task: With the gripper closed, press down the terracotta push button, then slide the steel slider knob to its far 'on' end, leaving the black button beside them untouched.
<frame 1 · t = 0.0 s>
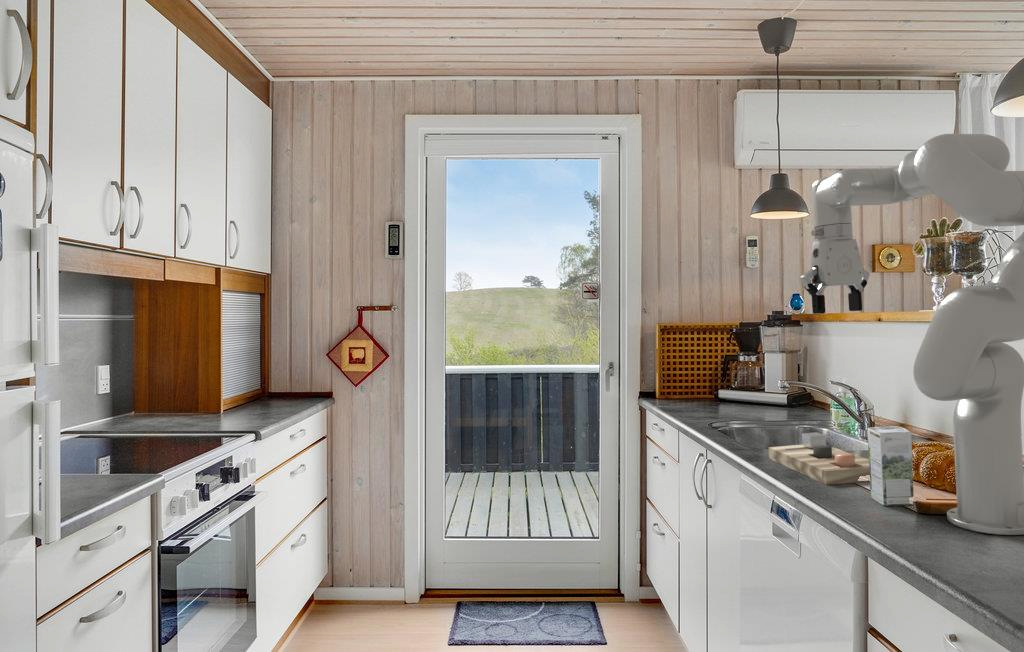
hand: (837, 312, 143), 37 cm above the countertop, tool pointing down, fingers open, 9 cm apart
terracotta button: (845, 461, 146), point 4 cm above the countertop, slide at 0.0 cm
light wooden board: (823, 468, 155), on the countertop
steel slider: (813, 440, 164), point 5 cm above the countertop, slide at -3.0 cm
syrup box: (892, 503, 127), on the countertop
black button: (822, 453, 155), point 4 cm above the countertop, slide at 0.0 cm
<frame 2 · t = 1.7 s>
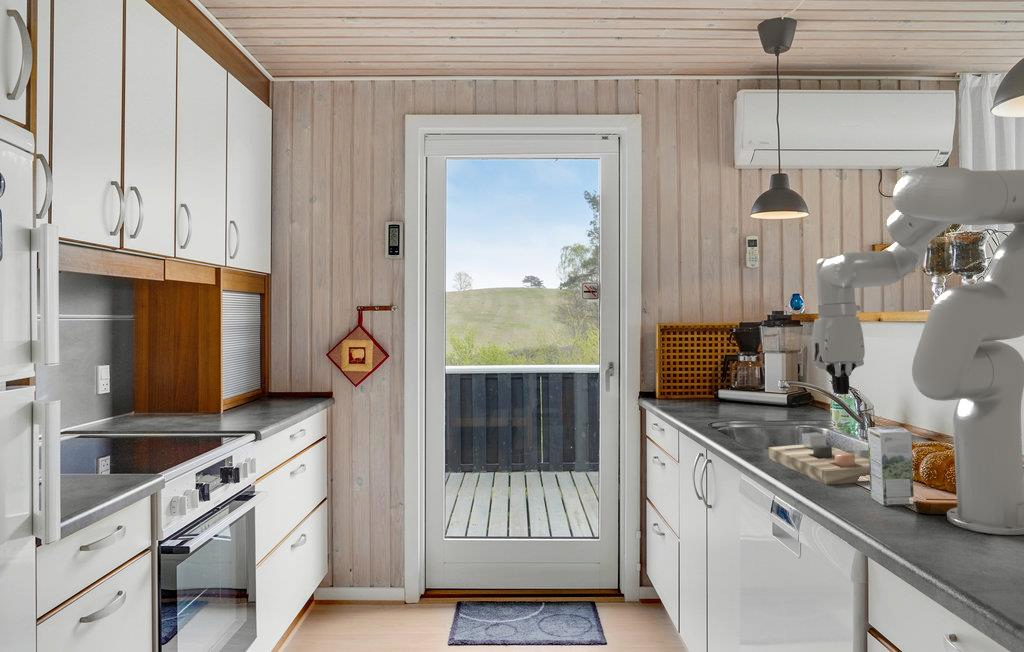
hand: (841, 393, 145), 19 cm above the countertop, tool pointing down, fingers closed
nothing on the countertop moved.
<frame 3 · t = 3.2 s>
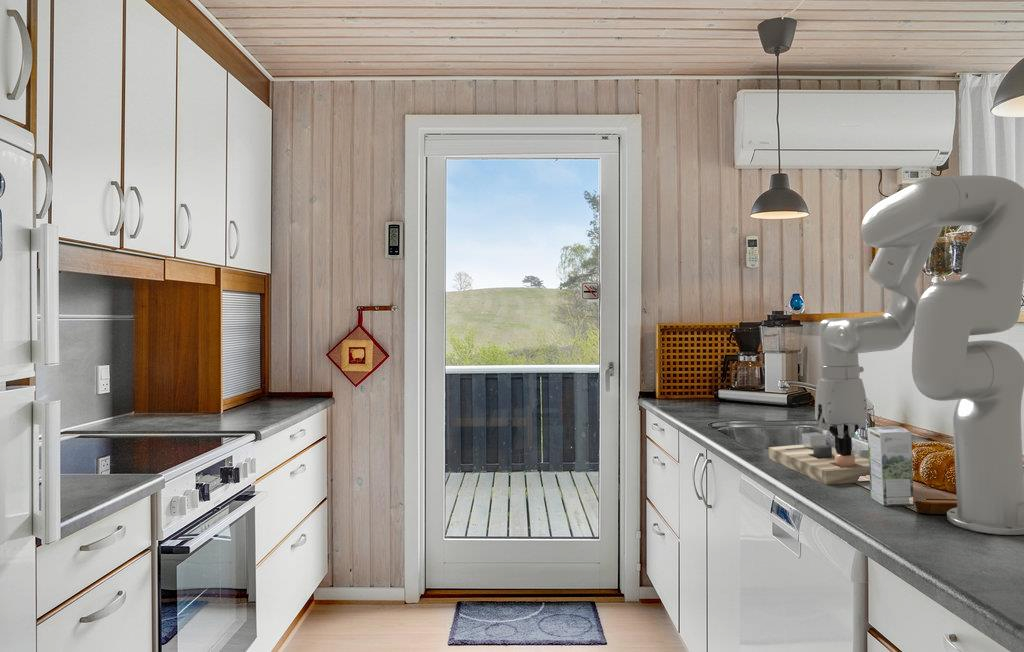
hand: (843, 454, 146), 5 cm above the countertop, tool pointing down, fingers closed
terracotta button: (845, 461, 146), point 4 cm above the countertop, slide at 0.0 cm, touching gripper
everything else where it was.
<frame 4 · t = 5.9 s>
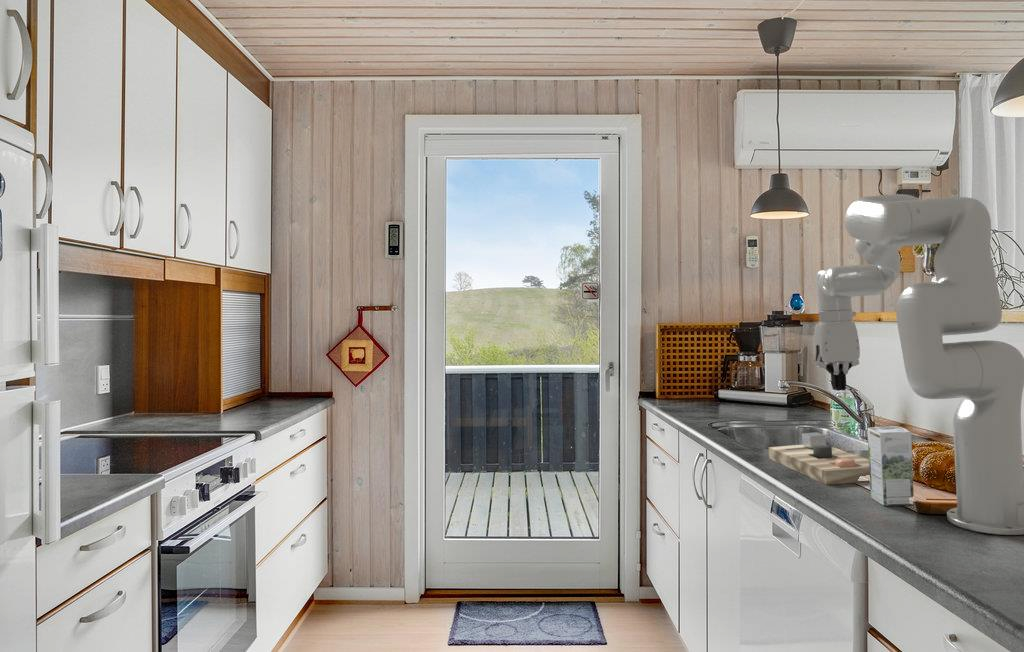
hand: (839, 389, 164), 17 cm above the countertop, tool pointing down, fingers closed
terracotta button: (845, 467, 146), point 2 cm above the countertop, slide at 1.3 cm
everything else where it was.
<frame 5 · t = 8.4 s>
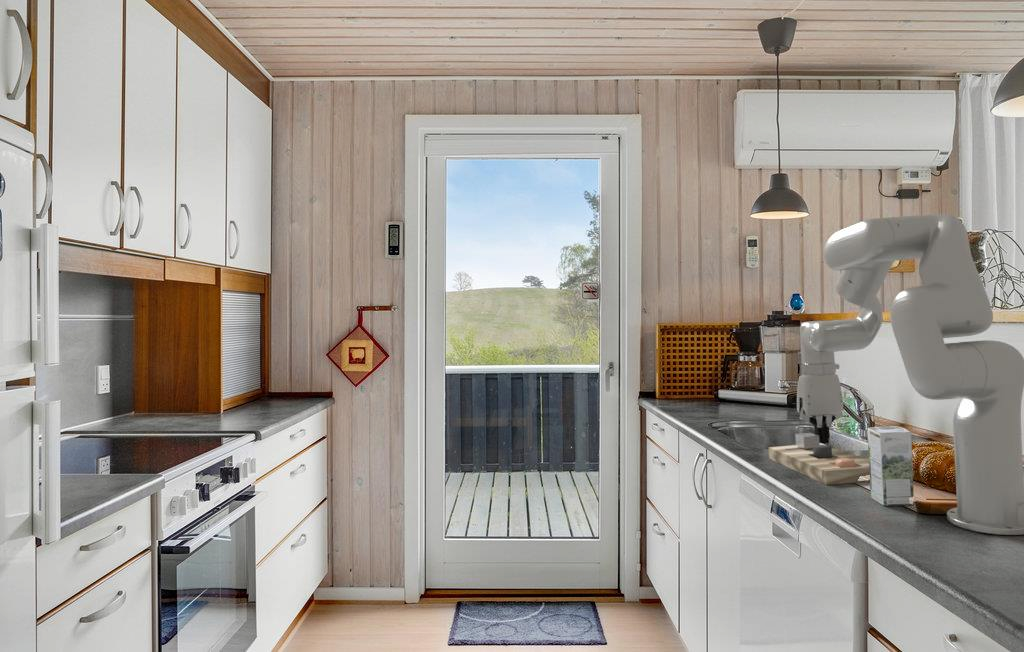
hand: (822, 442, 164), 4 cm above the countertop, tool pointing down, fingers closed
steel slider: (807, 440, 164), point 5 cm above the countertop, slide at -1.3 cm, touching gripper
everything else where it was.
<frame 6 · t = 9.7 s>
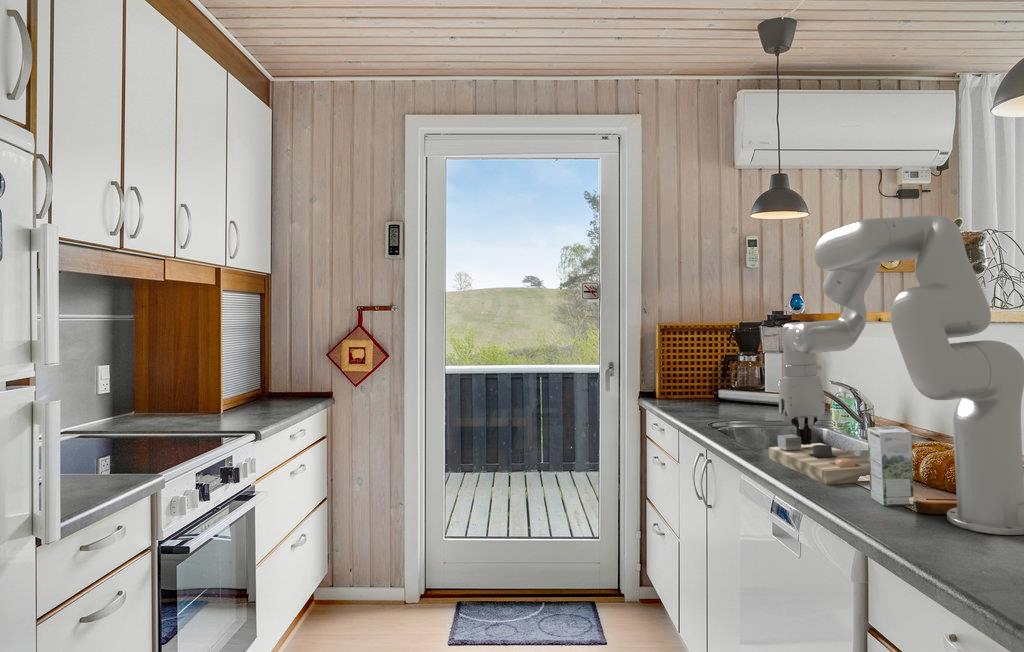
hand: (804, 443, 164), 4 cm above the countertop, tool pointing down, fingers closed
steel slider: (789, 442, 163), point 5 cm above the countertop, slide at 3.4 cm, touching gripper
everything else where it was.
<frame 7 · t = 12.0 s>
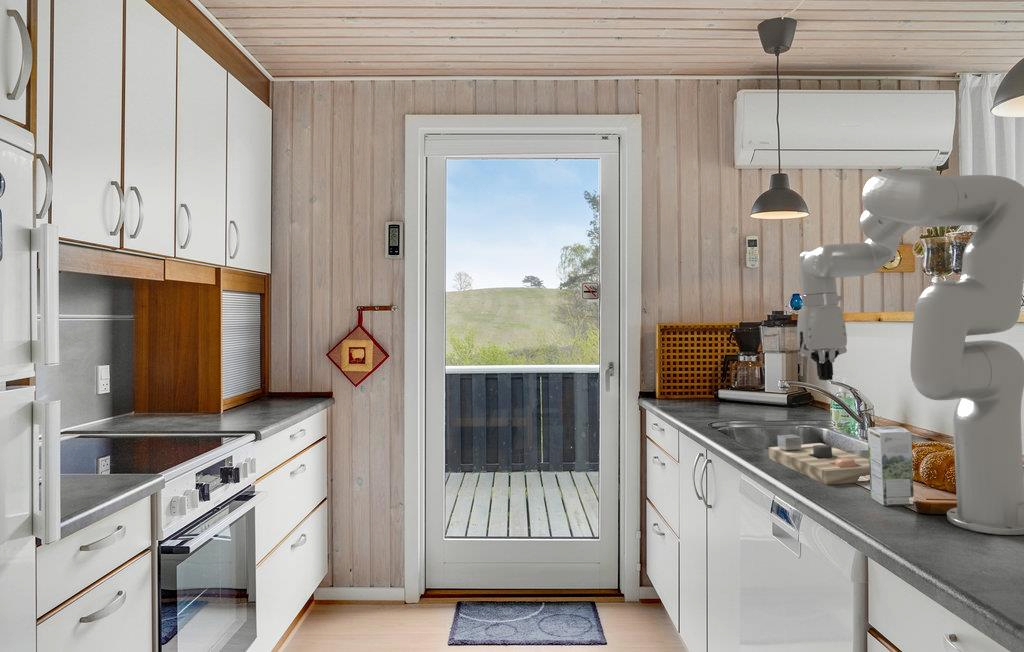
hand: (825, 379, 153), 21 cm above the countertop, tool pointing down, fingers closed
steel slider: (789, 442, 163), point 5 cm above the countertop, slide at 3.5 cm
everything else where it was.
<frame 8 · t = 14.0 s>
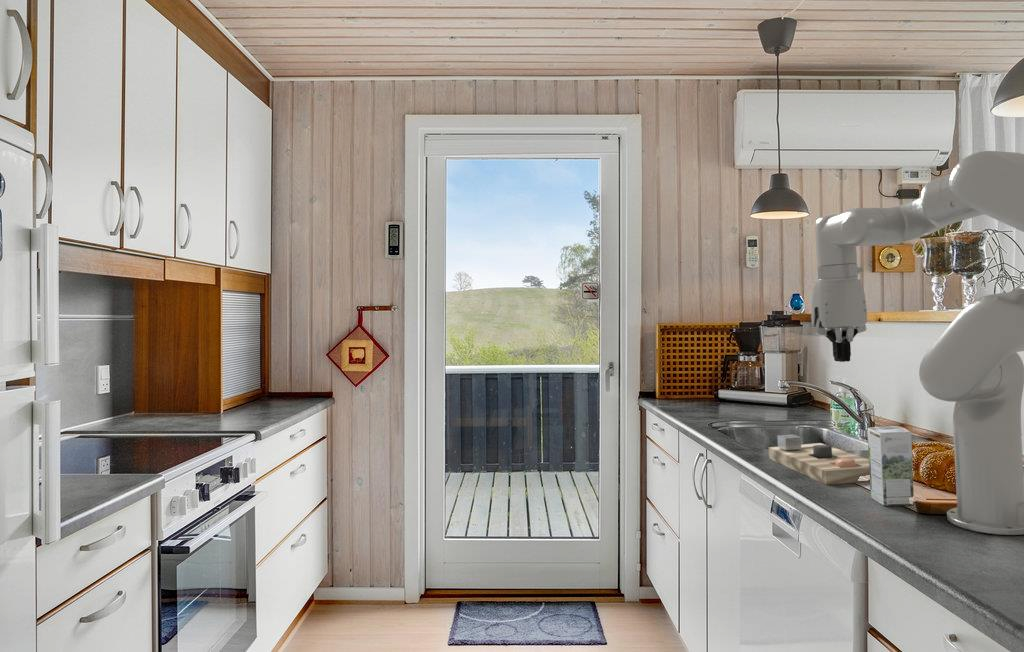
hand: (842, 360, 137), 27 cm above the countertop, tool pointing down, fingers closed
nothing on the countertop moved.
at the end: terracotta button slide at 1.3 cm; steel slider slide at 3.5 cm; black button slide at 0.0 cm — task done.
